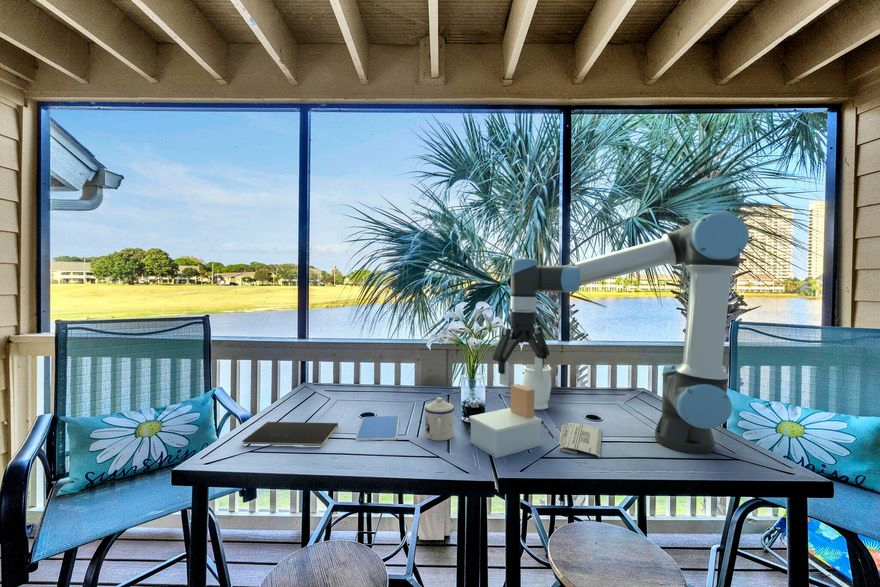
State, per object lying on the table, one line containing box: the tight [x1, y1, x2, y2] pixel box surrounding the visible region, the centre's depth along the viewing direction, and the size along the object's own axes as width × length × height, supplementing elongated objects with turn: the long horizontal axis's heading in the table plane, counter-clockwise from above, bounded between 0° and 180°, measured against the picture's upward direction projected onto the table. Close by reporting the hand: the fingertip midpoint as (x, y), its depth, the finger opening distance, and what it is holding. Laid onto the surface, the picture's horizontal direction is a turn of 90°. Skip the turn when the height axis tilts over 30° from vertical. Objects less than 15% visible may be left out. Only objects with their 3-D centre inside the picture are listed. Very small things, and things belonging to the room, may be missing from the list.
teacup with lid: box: [424, 396, 455, 442], centre depth 122 cm, size 12×9×12 cm
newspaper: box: [558, 422, 603, 459], centre depth 120 cm, size 23×12×2 cm, turn 157°
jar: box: [522, 364, 552, 411], centre depth 152 cm, size 11×10×15 cm
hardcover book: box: [241, 421, 339, 447], centre depth 123 cm, size 16×23×2 cm
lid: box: [468, 383, 543, 433], centre depth 117 cm, size 13×17×9 cm
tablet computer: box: [354, 415, 400, 441], centre depth 129 cm, size 19×13×1 cm, turn 4°
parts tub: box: [470, 419, 541, 459], centre depth 117 cm, size 12×16×7 cm
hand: (521, 382), depth 120 cm, fingers open, 13 cm apart
